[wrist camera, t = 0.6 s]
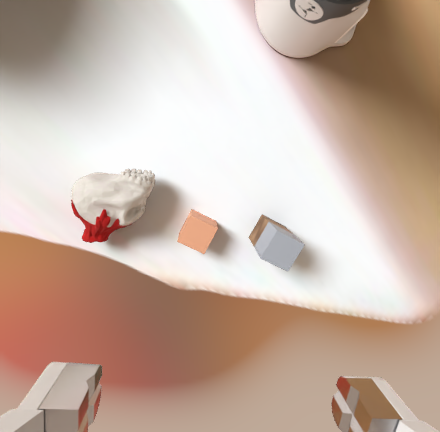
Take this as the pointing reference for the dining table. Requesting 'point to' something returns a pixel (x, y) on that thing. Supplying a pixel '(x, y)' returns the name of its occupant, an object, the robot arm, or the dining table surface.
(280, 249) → the block
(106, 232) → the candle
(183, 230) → the terracotta block
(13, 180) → the dining table surface
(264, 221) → the tower base
